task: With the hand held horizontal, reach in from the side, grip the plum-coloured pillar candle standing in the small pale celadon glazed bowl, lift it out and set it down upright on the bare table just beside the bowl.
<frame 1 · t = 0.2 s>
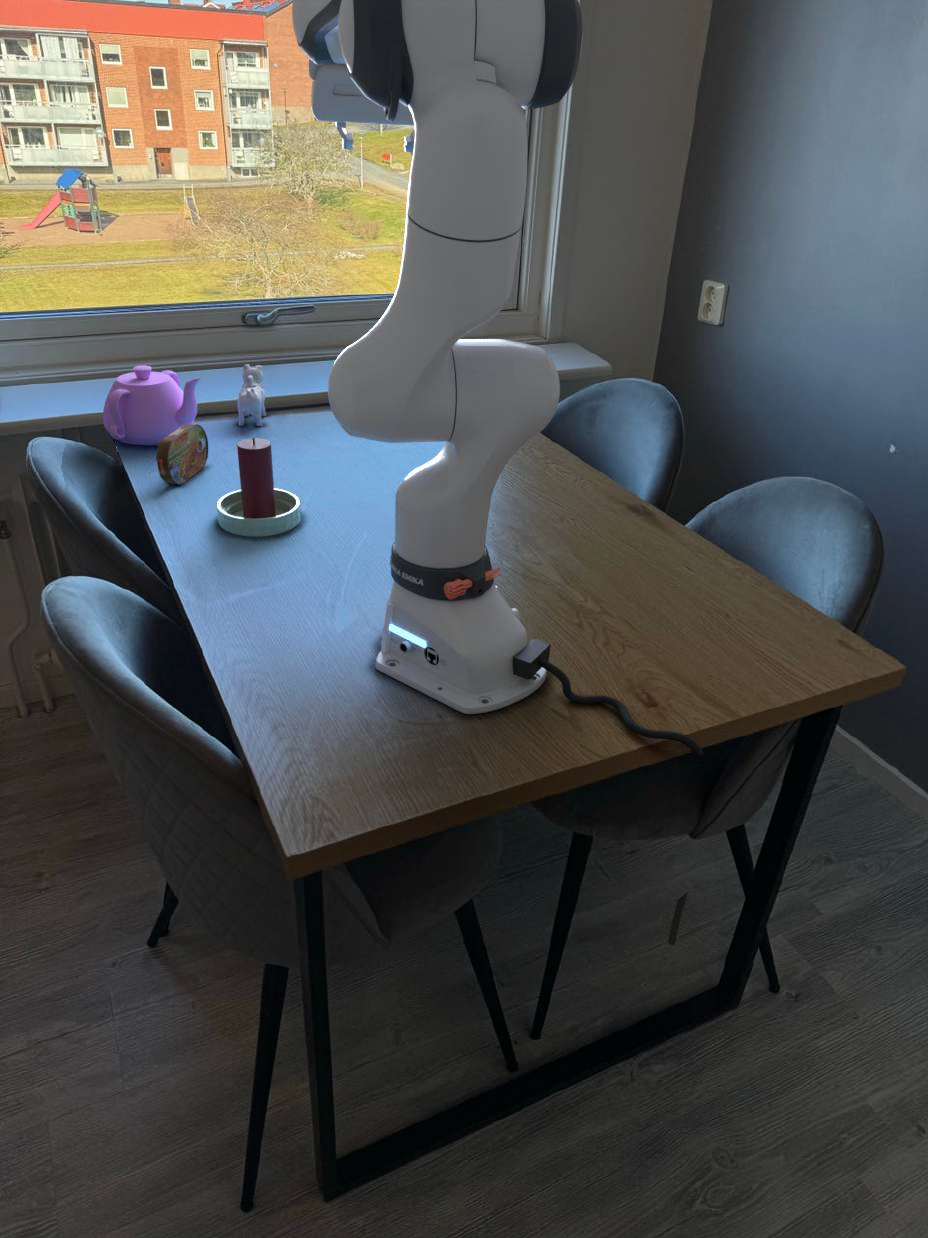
hand: (378, 148, 133), 54 cm above the table, tool tilted 30°, fingers open, 8 cm apart
tin: (185, 476, 160), on the table
teapot: (161, 438, 176), on the table
candle: (259, 519, 144), resting on bowl
dog figurine: (252, 419, 189), on the table
bowl: (260, 520, 145), on the table
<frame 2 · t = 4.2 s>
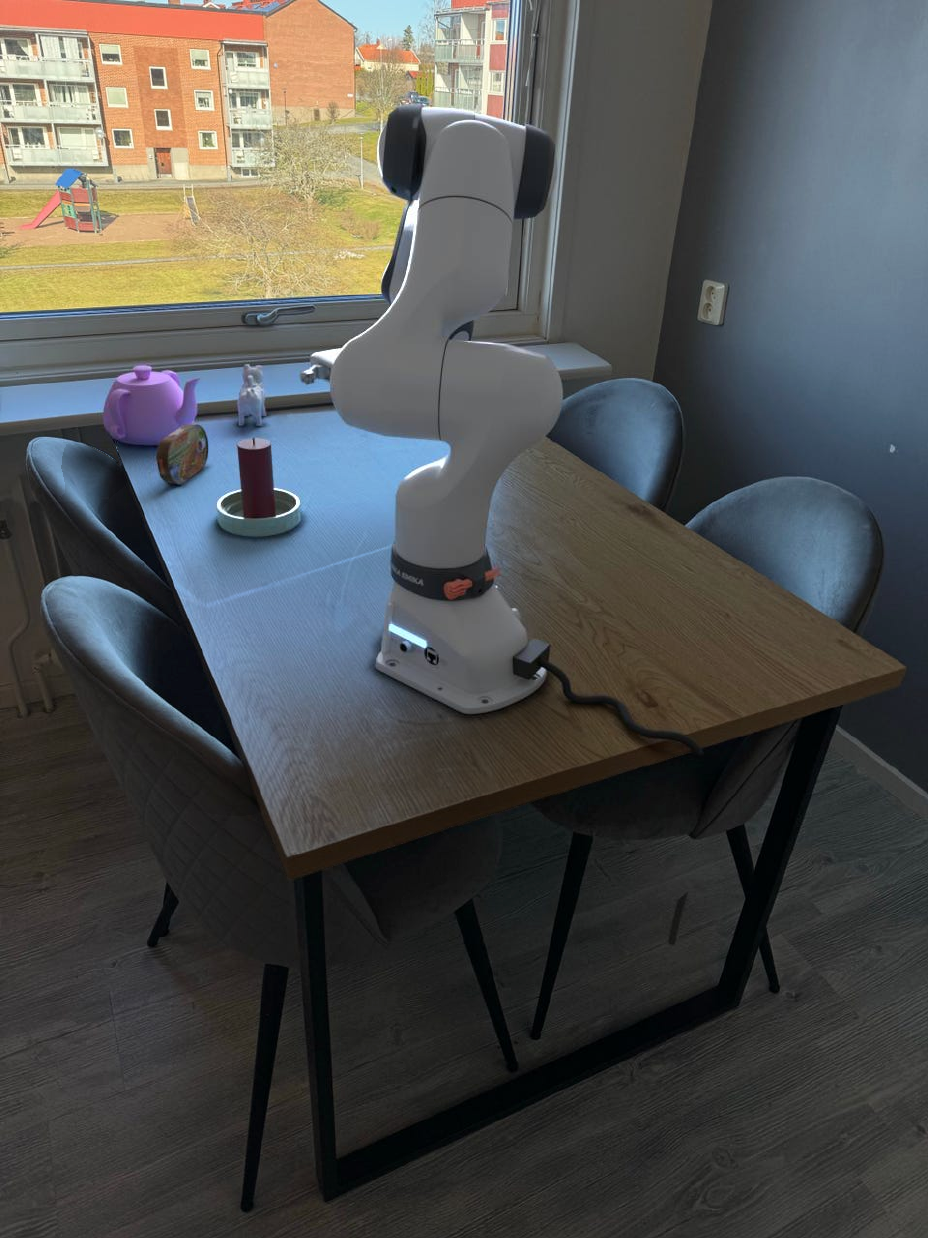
hand: (318, 386, 141), 20 cm above the table, tool horizontal, fingers open, 8 cm apart
nothing on the table moved.
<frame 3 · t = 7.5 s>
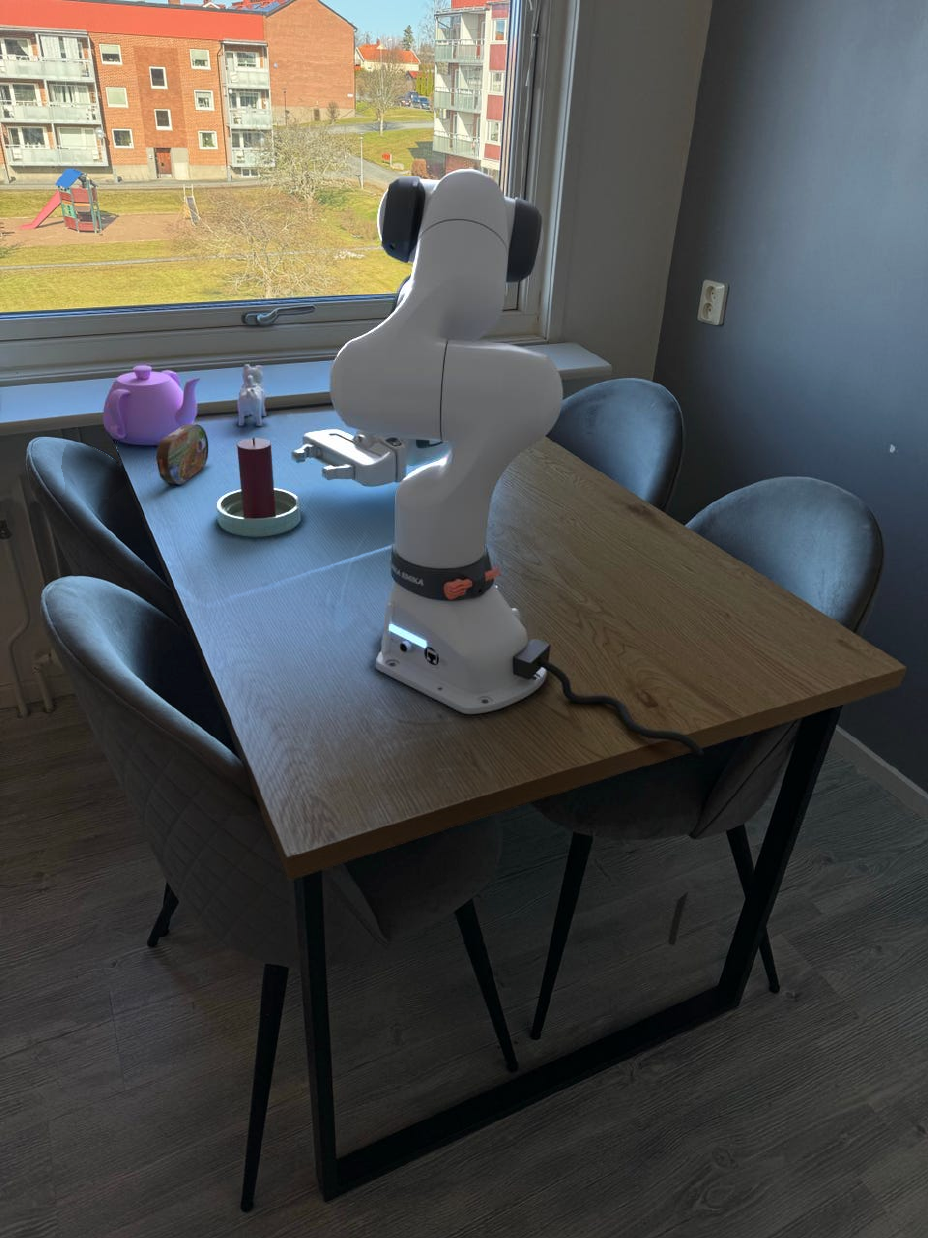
hand: (308, 465, 146), 8 cm above the table, tool horizontal, fingers open, 8 cm apart
nothing on the table moved.
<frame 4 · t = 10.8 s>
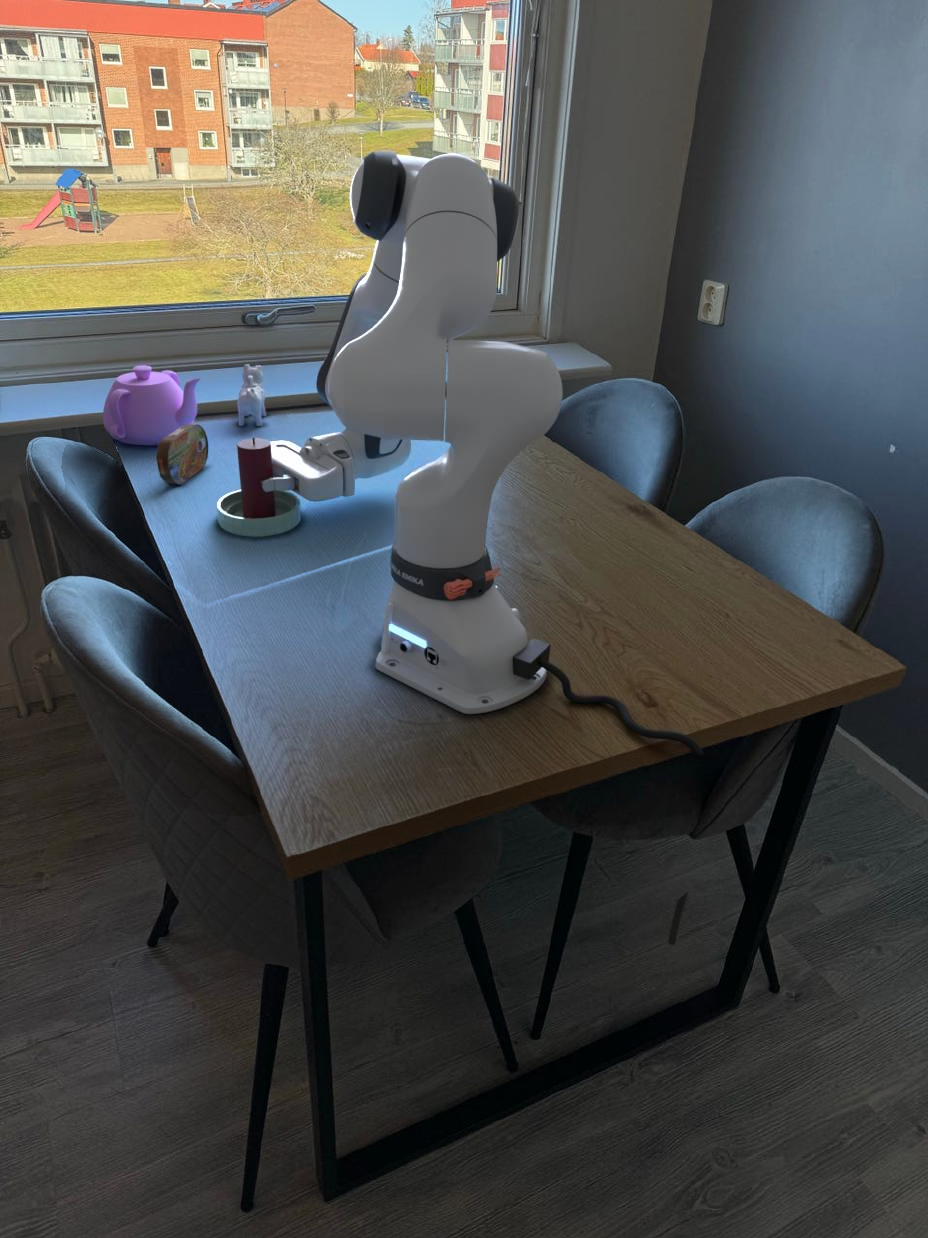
hand: (251, 479, 140), 8 cm above the table, tool horizontal, fingers closed on candle, 5 cm apart
candle: (259, 519, 144), resting on bowl, touching gripper
everything else where it was.
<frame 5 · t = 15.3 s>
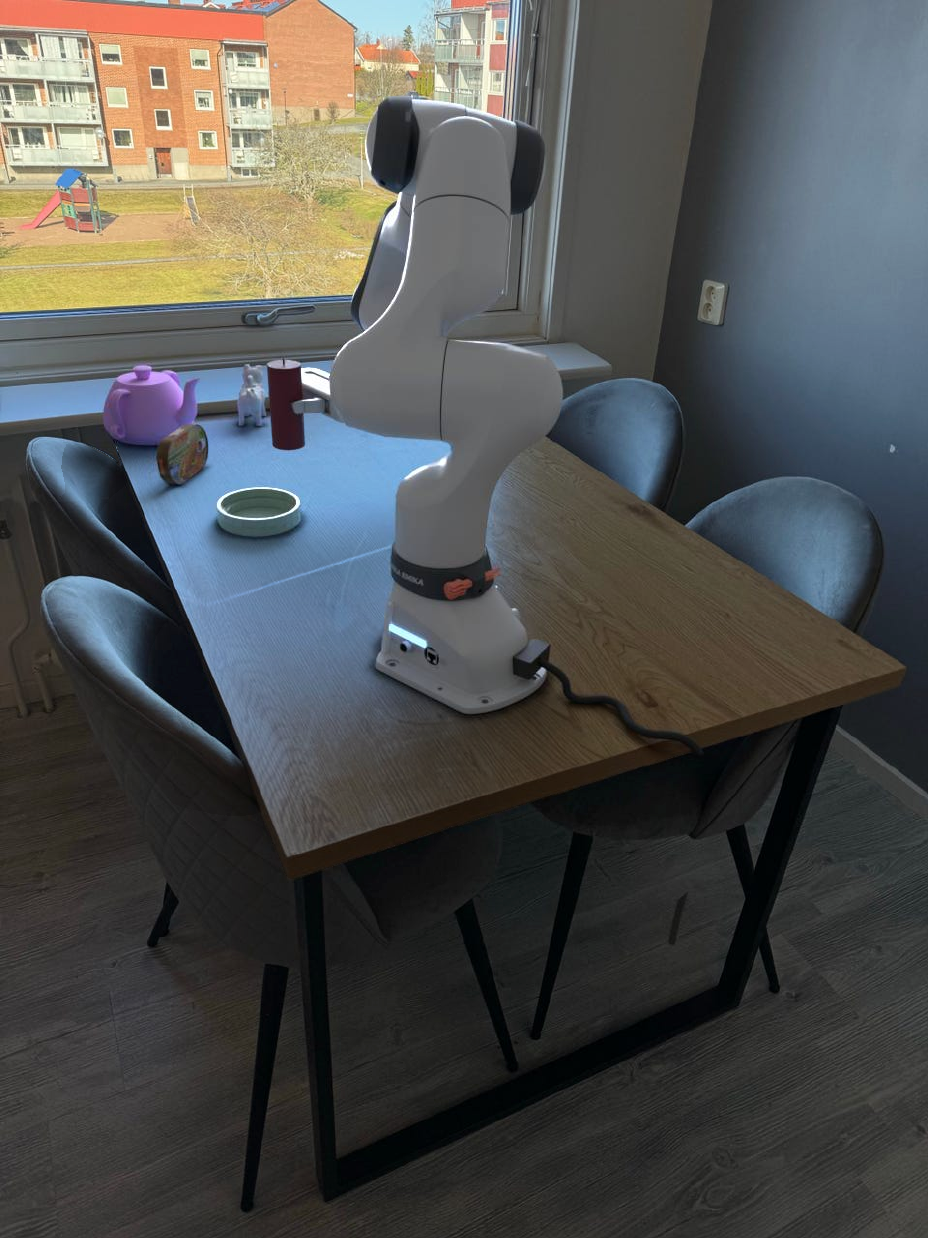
hand: (281, 401, 138), 19 cm above the table, tool horizontal, fingers closed on candle, 5 cm apart
candle: (288, 444, 142), point 12 cm above the table, touching gripper
everything else where it was.
when the fingers open (7 cm above the table, at t = 20.1 s): candle stays where it is, on the table.
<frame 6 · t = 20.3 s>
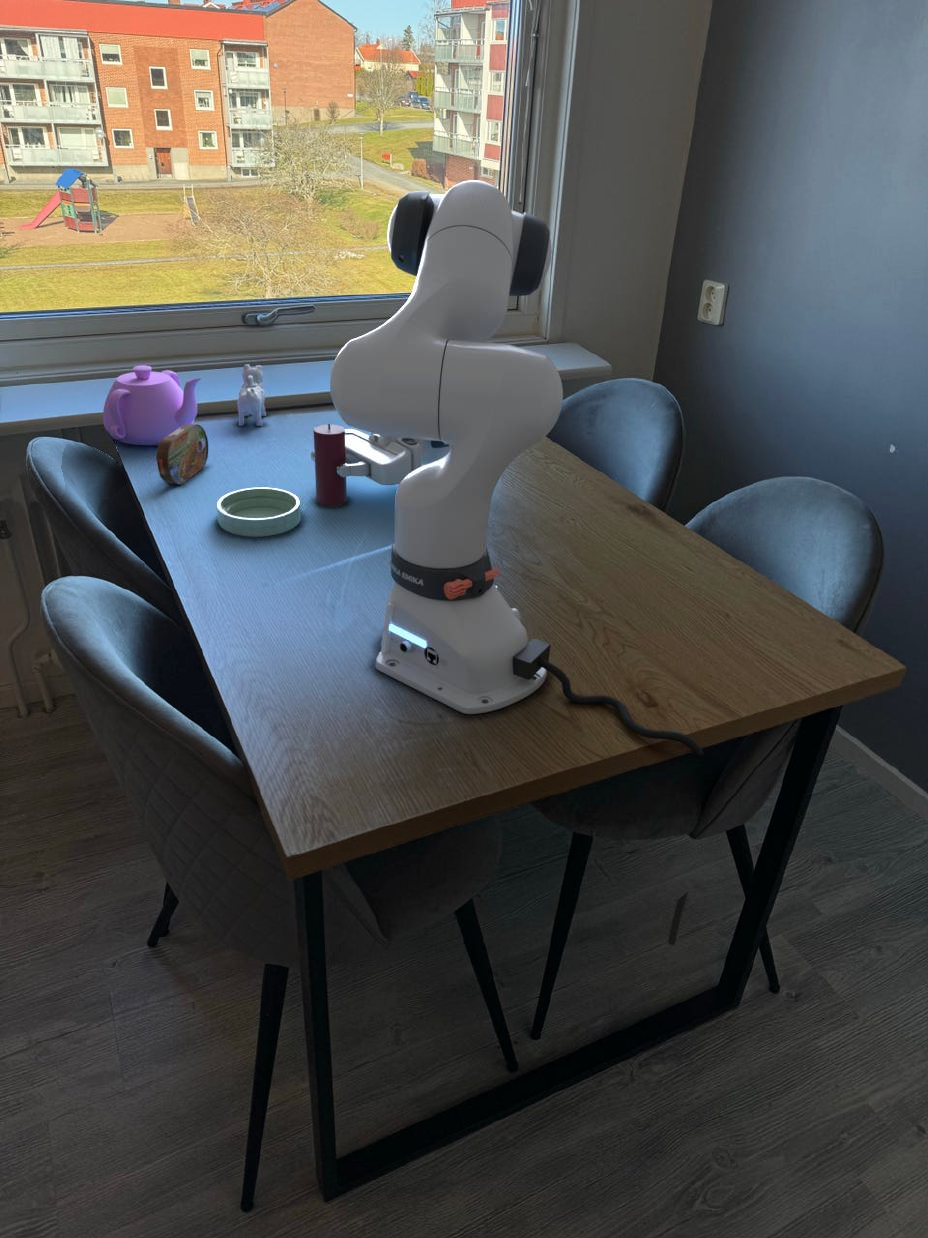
hand: (325, 464, 149), 7 cm above the table, tool horizontal, fingers open, 6 cm apart
candle: (331, 501, 153), on the table
everything else where it was.
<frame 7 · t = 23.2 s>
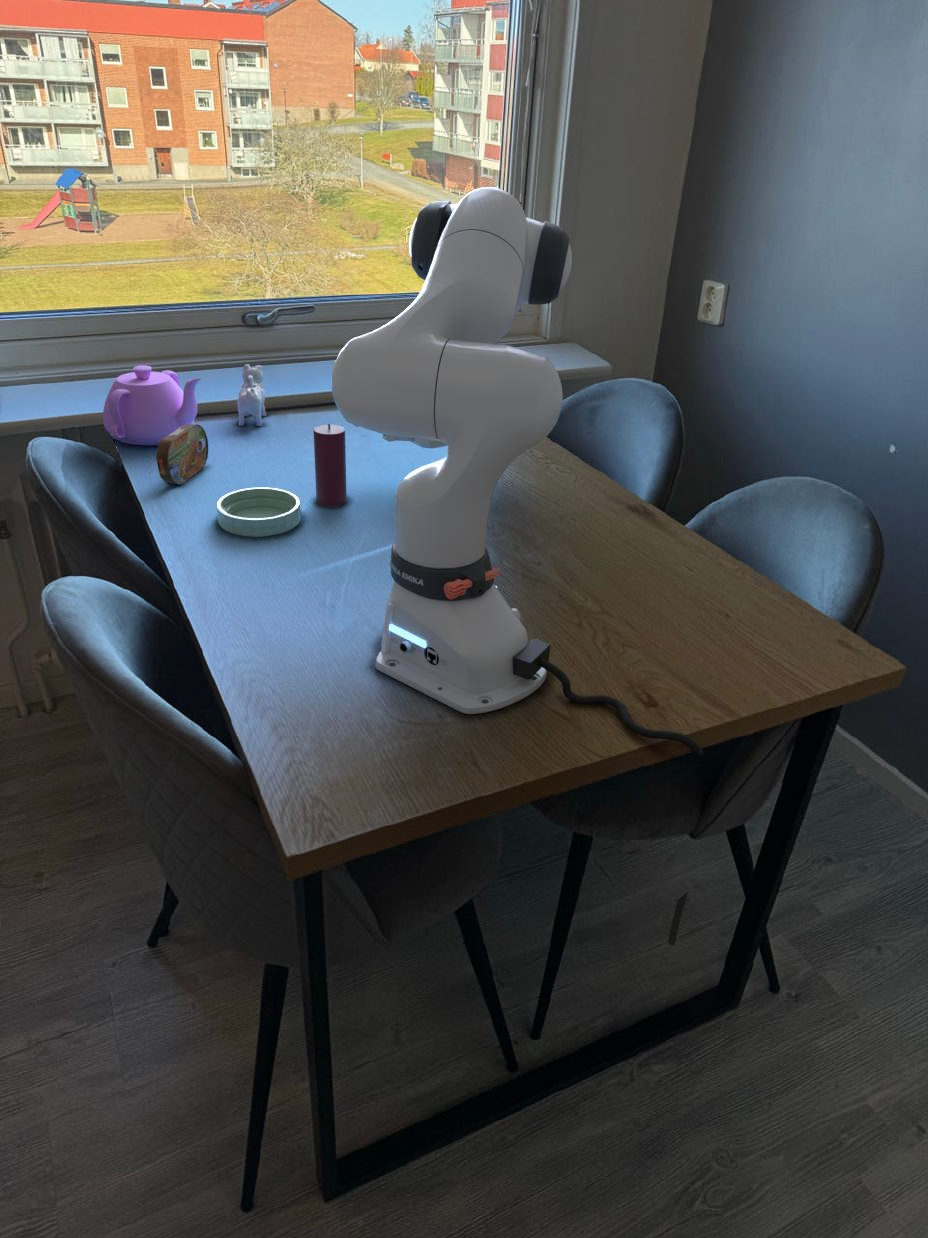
hand: (368, 428, 151), 12 cm above the table, tool horizontal, fingers open, 8 cm apart
nothing on the table moved.
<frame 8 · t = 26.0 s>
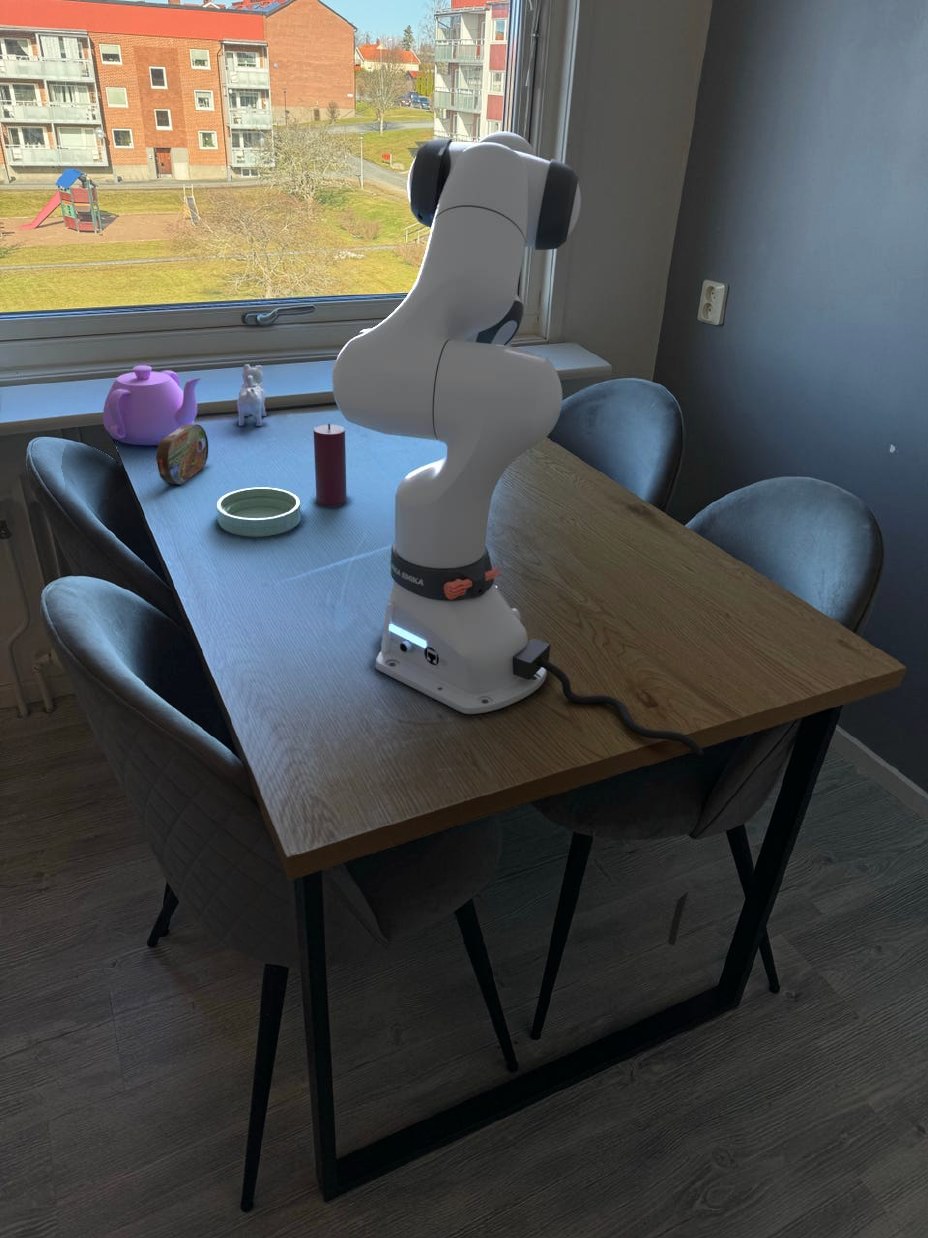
hand: (368, 356, 145), 24 cm above the table, tool horizontal, fingers open, 8 cm apart
nothing on the table moved.
at the end: candle inside the target area (0.1 cm from its centre), on the table; candle touching table; candle tilted 0° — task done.
